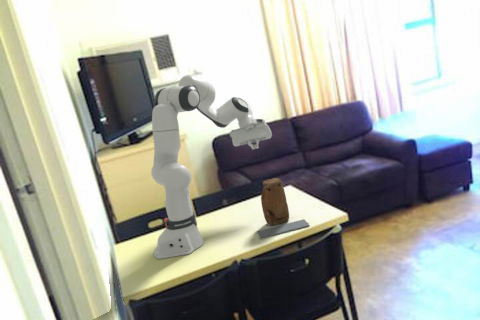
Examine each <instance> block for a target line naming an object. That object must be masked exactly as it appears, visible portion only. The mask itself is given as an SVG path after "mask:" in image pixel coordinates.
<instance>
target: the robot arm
mask: <svg viewBox="0 0 480 320" xmlns="http://www.w3.org/2000/svg"><path fill="white" fill-rule="evenodd" d="M215 99H216V89H215V87H214V86H213V85H212V84H211V83H210V81H209V82H208V81H207V80H204V79H203V78H202V77H199V76H196V75H195V76H194V75H193V74H192V75H191V74H186V75H184V76H182V77H181V78H180V79H179V81H178V85H175V86H170V87H164V88H161V89H159V90H157V91H156V93H155V96H154V107H153V109H152V114H151V115H152V116H151V127H152V129H151V130H152V135H153V136H152V137H153V138H152V139H153V147H154V148H153V149H154V152H153V153H154V154H153V155H154V156H153V165H152V168H151V174H150V175H151V177H152V179H153V180H154V181H155V182H156V183H157V184H159V185H161V186H163V187H164V190H165V201H164V206H165V210H166V214H167V217H165V218H164V219H163V221H164V225H165V229H164V230H163V231H162V232H161V233H160V235H159V236H158V238H157V241H156V242H157V246H156V247H155V248H154V251H153V255H154V258H155V259H156V260H162V259H168V258H174V257H179V256H185V255H189V254H192V253H193V252H194V251H195V250H197V249H199V248H200V247H202V246H203V245H204V243H205V240H204V238H203V237H202V235H201V233H200V229H199V228H198V222H197V218H196V215H195V212H194V210H193V207H192V203H191V196H190V185H191V184H190V183H191V182H192V173H191V170H189V168H188V167H186V166H185V165H184V164H181V163H179V162H178V158H179V152H180V150H181V137H180V128H179V127H180V125H179V122H178V121H179V120H178V114H179V113H185V112H192V111H195V110H197V111H198V112H199V113H200V114H202V115H203V116H205V118H207V119H209V120H210V121H211V122H212V123H213V124H214V125H215V126H217V127H218V128H223V129H224V128H226V127H228V125H230V124H231V123H233V121H235V120H237V122H238V127H239V128H236V129H231V130H230V132H229V136H230V138H231V141H232V145H233V146H234V147H239V146H244V145H248V146H249V147H250V148H251V150H256V149H259V148H260V147H259V143H260V142H261V141H265V140H270V139H271V138H272V136H273V133H272V130H271V128H270V126H269V125H268V124H267V123H266V120H265V119H264V118H255V117H254V114H253V111H252V108H251V106H250V104H249V102H248V101H247V100H246V99H243V98H240V97H236V96H234V97H231V98H229V99H228V100H227V101H225V102H224V103H223V104H222V105H221V106H220V107H218V108H216V109H213V108H212V107H211V106H212V105H213V103H214V102H215ZM252 143H256V144H252Z"/></svg>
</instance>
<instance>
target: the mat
mask: <svg viewBox="0 0 480 320" xmlns="http://www.w3.org/2000/svg"><path fill="white" fill-rule="evenodd" d="M308 227H310V224H309V223H308V222H307V221H306V220H305V219H304V218H303V219H300V220H296V221H292V222H287V223H284V224H280V225H276V226H272V227H268V228H265V229H260V230H257V235H258V236H259V238H260V239H261V240H263V239H266V238H269V237H274V236H277V235H281V234H285V233H289V232H294V231H297V230H300V229H305V228H308Z"/></svg>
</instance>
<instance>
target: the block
mask: <svg viewBox="0 0 480 320" xmlns="http://www.w3.org/2000/svg"><path fill="white" fill-rule="evenodd" d="M262 187H263V188H262V191H261V195H260V201H261V207H262V212H263V217H264V219H265V222H266V224H267V225H269V226H272V225H273V226H274V225H279V224H282V223H285V222H288V221H289V219H290V211H289V206H288V202H287V196H286V193H285V188H284V185H283V181H282V180H280V179H279V178H278V177H274V178H271V179H266V180H264V181H263V182H262Z"/></svg>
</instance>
